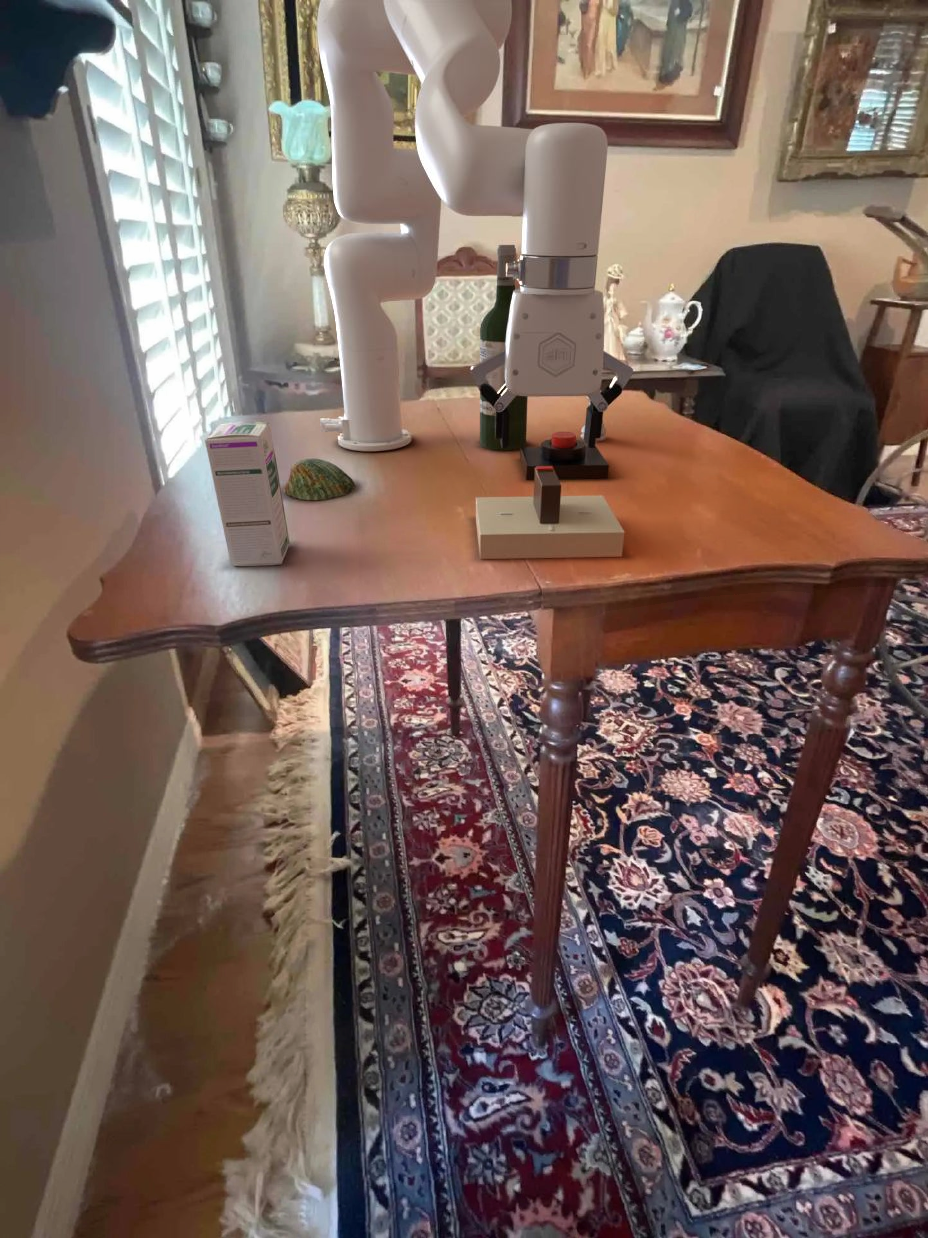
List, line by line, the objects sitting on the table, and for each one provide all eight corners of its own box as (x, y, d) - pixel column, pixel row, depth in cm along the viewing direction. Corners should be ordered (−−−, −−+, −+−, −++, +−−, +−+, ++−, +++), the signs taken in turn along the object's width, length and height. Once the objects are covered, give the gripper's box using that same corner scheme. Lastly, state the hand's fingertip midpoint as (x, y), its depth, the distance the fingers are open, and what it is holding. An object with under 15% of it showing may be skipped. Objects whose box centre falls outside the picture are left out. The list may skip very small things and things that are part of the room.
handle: (559, 523, 78) (561, 483, 76) (539, 523, 78) (541, 483, 76) (551, 503, 84) (553, 465, 82) (533, 503, 84) (534, 465, 82)
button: (553, 449, 102) (553, 438, 101) (549, 443, 105) (550, 431, 104) (577, 449, 102) (578, 437, 101) (573, 442, 105) (574, 431, 104)
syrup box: (283, 565, 76) (263, 434, 69) (228, 567, 76) (203, 435, 69) (290, 544, 81) (272, 420, 74) (239, 546, 81) (216, 421, 74)
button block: (526, 480, 101) (527, 453, 99) (519, 460, 110) (520, 435, 108) (607, 479, 101) (610, 452, 99) (594, 459, 110) (596, 434, 108)
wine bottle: (470, 444, 118) (469, 245, 103) (503, 436, 122) (507, 243, 107) (502, 454, 113) (506, 245, 98) (535, 445, 117) (544, 244, 102)
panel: (480, 559, 77) (480, 533, 76) (475, 519, 88) (475, 495, 86) (621, 556, 78) (624, 530, 76) (600, 517, 88) (603, 493, 87)
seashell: (306, 474, 91) (266, 459, 97) (308, 504, 92) (269, 488, 99) (367, 464, 97) (326, 450, 103) (368, 492, 99) (327, 477, 105)
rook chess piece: (607, 442, 118) (612, 394, 114) (581, 442, 118) (585, 394, 114) (603, 435, 122) (608, 389, 118) (578, 435, 122) (582, 389, 118)
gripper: (472, 278, 65) (471, 455, 74) (653, 279, 66) (630, 454, 75) (470, 272, 72) (468, 435, 81) (634, 272, 72) (615, 435, 81)
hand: (546, 444), depth 78 cm, fingers open, 9 cm apart
